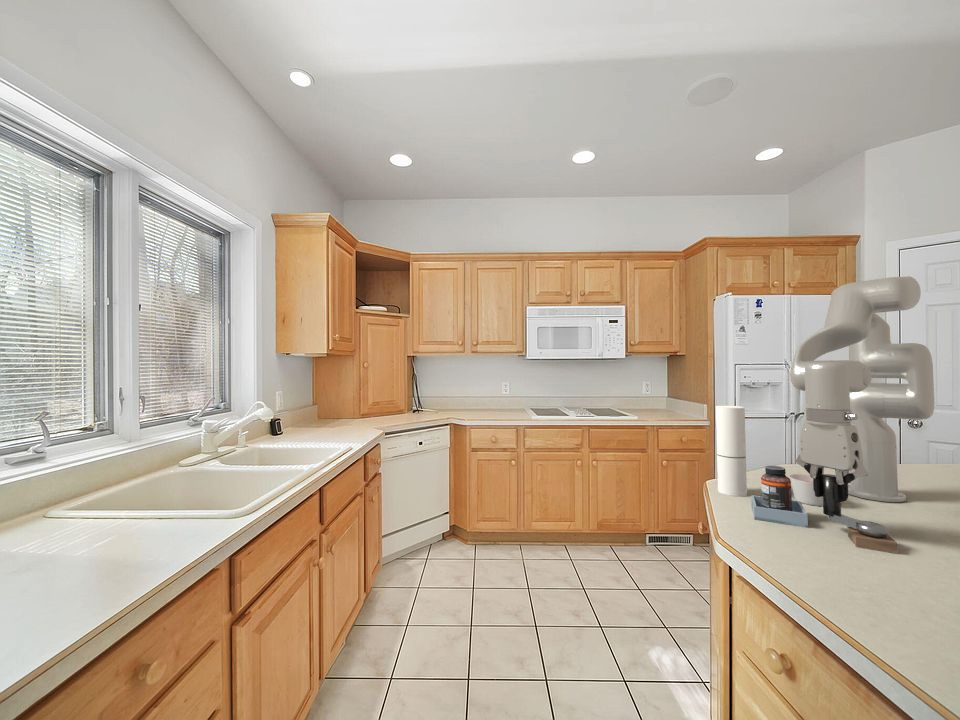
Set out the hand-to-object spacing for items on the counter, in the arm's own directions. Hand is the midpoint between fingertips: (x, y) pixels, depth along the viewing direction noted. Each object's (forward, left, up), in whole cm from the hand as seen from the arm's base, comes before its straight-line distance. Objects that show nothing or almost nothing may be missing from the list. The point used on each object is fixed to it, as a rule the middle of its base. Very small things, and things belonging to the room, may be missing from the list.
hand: (830, 497), depth 88 cm
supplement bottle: (-4, -9, -7) cm, 12 cm away
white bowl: (-21, 0, -7) cm, 22 cm away
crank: (+3, +3, -5) cm, 6 cm away
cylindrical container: (-21, -18, -7) cm, 28 cm away
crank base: (+5, +5, -7) cm, 10 cm away
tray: (-4, -9, -7) cm, 12 cm away
